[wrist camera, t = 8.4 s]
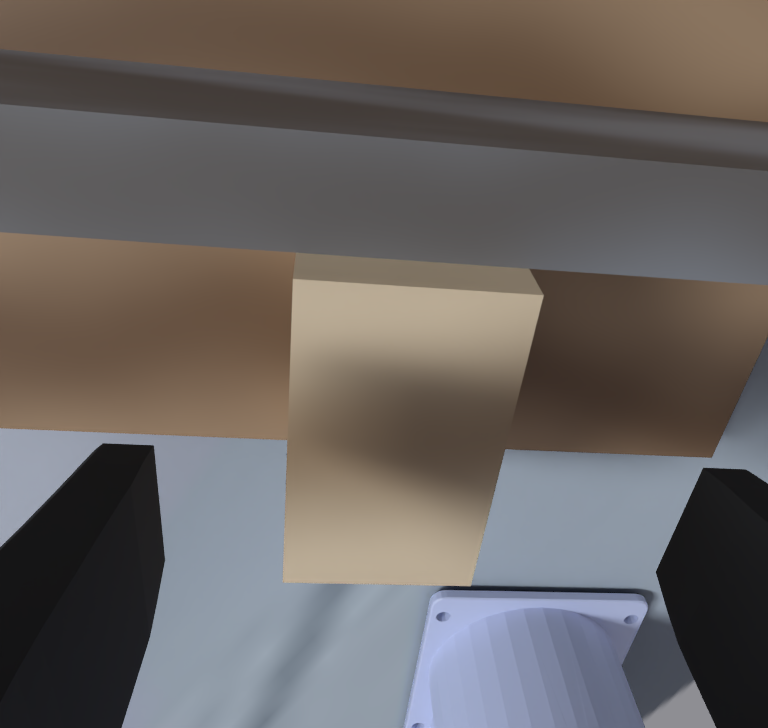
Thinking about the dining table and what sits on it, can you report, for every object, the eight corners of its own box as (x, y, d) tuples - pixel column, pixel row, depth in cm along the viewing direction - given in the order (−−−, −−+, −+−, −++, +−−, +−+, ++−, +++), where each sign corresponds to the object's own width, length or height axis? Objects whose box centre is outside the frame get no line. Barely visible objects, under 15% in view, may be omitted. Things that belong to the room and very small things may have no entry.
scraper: (665, 448, 20) (754, 591, 16) (42, 422, 18) (-47, 576, 14) (798, 124, 15) (979, 206, 11) (-36, 45, 13) (-209, 105, 9)
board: (689, 425, 21) (711, 457, 20) (6, 393, 19) (-17, 427, 18) (1049, -420, 12) (1137, -461, 10) (-242, -668, 10) (-329, -757, 8)
